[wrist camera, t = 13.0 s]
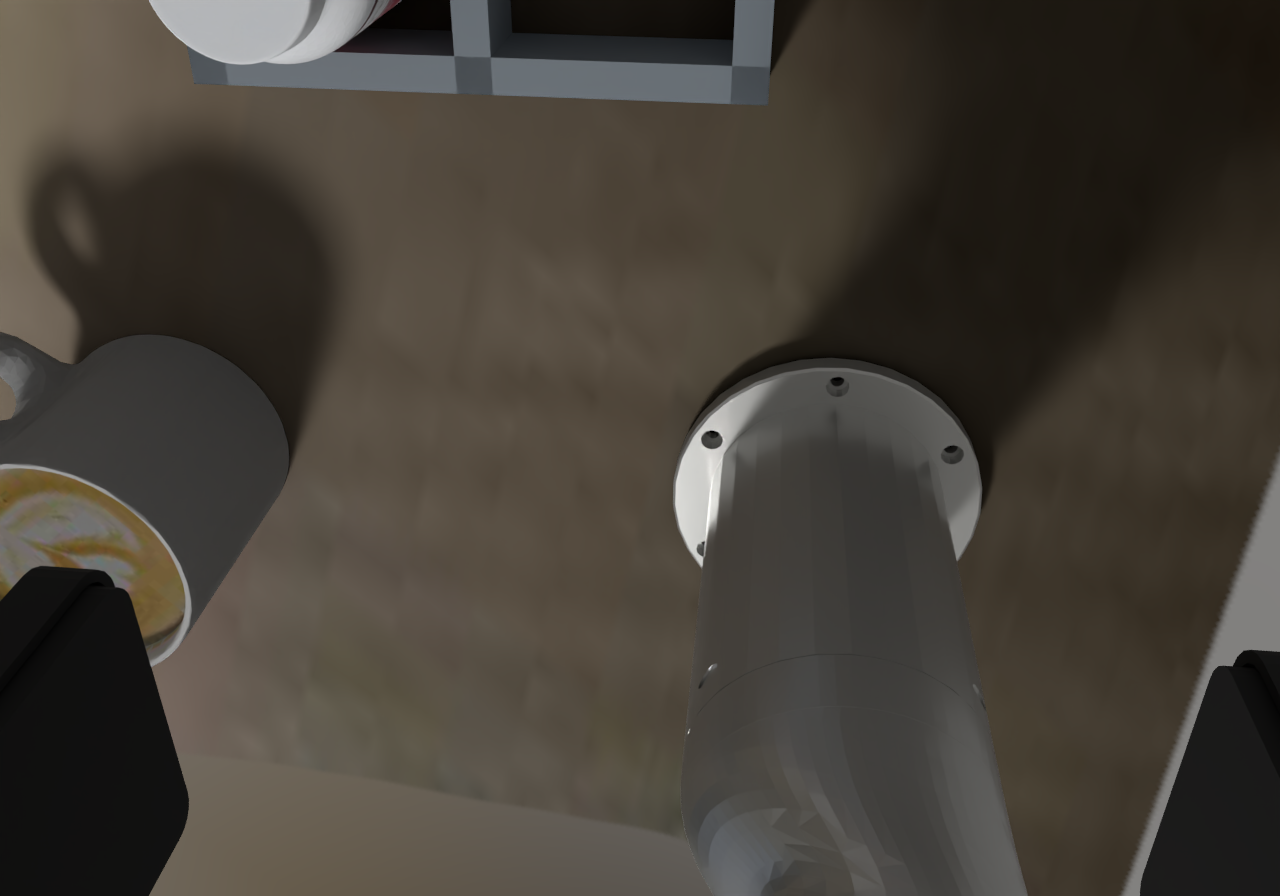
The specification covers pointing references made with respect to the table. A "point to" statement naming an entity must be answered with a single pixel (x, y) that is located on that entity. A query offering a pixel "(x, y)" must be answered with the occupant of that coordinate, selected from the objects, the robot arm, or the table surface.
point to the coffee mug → (136, 472)
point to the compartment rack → (529, 61)
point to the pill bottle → (268, 27)
